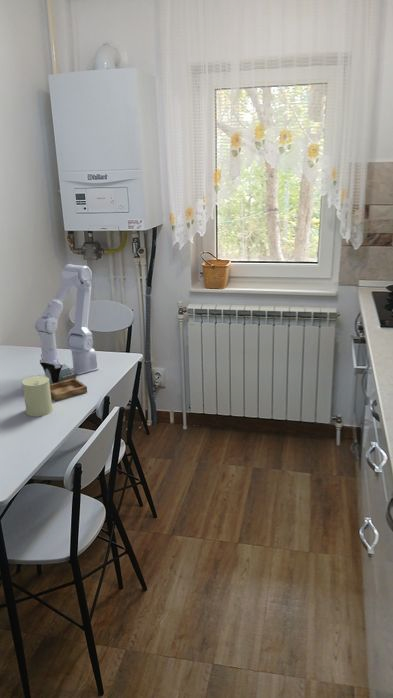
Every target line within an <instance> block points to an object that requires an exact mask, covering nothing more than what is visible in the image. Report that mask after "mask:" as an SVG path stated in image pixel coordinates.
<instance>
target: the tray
mask: <svg viewBox="0 0 393 698" xmlns="http://www.w3.org/2000/svg"><path fill="white" fill-rule="evenodd" d="M50 393H51V400H53V401H55V402H58V401H62V400H66V399H70V398H72V397H76V396H80V395H82V394H87V393H88V387H87V385H85V384H84V383H83V382H82V381H79V379H77V378H76V379H75V378H73V379H70V380H66V381H62V382H58V383H55V384H51V385H50Z"/></svg>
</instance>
